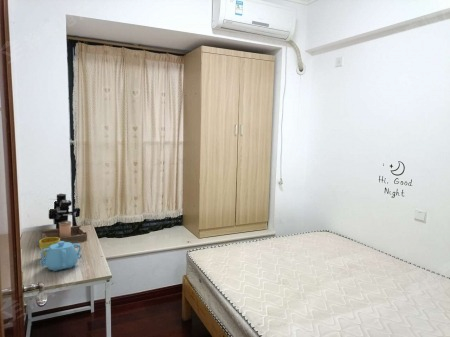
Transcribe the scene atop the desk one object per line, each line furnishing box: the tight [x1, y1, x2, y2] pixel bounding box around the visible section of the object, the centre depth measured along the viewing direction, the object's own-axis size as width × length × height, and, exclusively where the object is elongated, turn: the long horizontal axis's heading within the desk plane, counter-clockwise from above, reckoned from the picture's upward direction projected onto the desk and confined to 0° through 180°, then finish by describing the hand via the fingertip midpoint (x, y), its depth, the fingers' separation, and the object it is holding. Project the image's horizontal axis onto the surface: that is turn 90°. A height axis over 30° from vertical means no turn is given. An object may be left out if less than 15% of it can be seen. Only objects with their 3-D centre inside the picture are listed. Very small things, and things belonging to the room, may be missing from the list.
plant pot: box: [38, 237, 60, 258], centre depth 177 cm, size 10×10×10 cm
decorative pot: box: [39, 241, 83, 272], centre depth 163 cm, size 16×16×14 cm
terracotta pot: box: [59, 220, 72, 238], centre depth 203 cm, size 7×7×13 cm
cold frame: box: [40, 225, 88, 243], centre depth 205 cm, size 16×24×6 cm
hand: (67, 217), depth 202 cm, fingers open, 9 cm apart
